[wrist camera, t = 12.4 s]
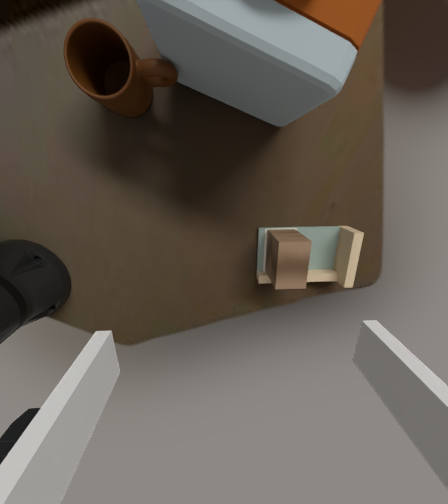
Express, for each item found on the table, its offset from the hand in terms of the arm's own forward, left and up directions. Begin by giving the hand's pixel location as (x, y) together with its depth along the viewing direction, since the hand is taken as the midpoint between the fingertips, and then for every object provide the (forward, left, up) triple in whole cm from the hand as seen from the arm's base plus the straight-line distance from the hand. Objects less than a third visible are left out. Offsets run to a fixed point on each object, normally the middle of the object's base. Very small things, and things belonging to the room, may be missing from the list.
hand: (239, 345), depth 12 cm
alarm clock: (+3, +22, -31) cm, 38 cm away
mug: (-11, +20, -31) cm, 38 cm away
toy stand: (+15, -6, -31) cm, 35 cm away
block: (+11, -6, -30) cm, 32 cm away
